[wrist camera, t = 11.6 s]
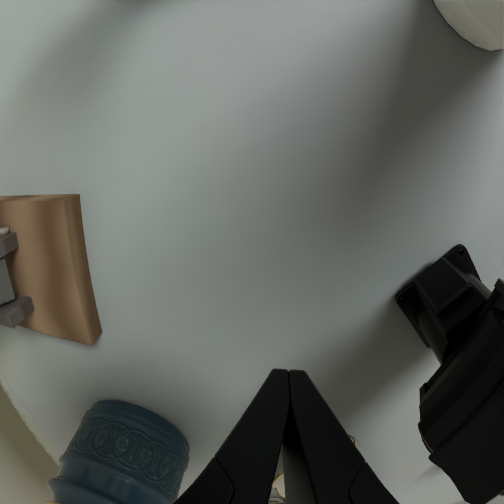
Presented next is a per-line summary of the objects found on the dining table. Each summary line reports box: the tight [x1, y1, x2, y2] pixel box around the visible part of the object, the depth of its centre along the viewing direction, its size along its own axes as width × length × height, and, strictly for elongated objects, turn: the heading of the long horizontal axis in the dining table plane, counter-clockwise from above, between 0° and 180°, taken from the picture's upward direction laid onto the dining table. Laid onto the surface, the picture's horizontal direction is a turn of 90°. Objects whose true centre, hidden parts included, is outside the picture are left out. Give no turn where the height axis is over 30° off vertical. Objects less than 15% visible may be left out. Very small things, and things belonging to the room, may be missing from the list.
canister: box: [46, 400, 189, 504], centre depth 22 cm, size 13×13×18 cm
